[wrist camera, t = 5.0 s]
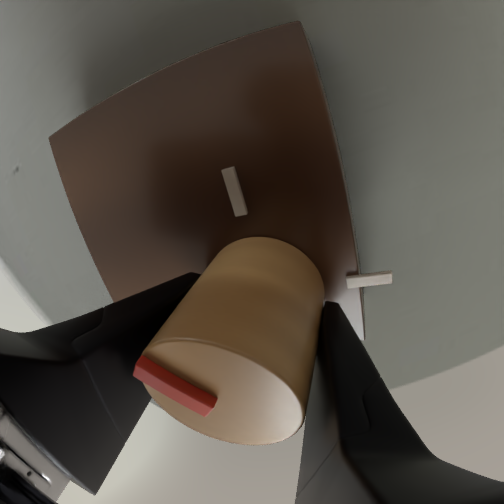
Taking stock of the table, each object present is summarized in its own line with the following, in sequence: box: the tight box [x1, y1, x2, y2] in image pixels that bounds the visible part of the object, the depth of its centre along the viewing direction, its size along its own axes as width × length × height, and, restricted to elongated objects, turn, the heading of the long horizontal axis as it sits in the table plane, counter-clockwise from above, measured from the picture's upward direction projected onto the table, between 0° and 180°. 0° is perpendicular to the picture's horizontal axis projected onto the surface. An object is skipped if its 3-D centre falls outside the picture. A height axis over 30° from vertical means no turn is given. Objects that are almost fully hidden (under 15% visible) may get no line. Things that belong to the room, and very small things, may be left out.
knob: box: [133, 237, 325, 445], centre depth 8 cm, size 4×4×5 cm
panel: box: [49, 21, 393, 340], centre depth 11 cm, size 12×11×3 cm
